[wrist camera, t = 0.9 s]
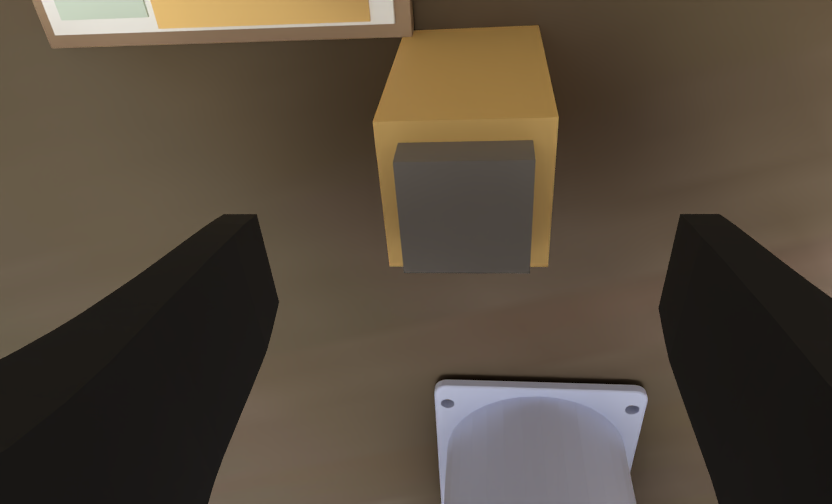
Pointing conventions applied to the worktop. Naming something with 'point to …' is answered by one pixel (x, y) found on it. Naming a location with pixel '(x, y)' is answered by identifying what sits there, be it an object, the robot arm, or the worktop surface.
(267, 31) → the compartment tray
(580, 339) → the worktop surface
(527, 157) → the block
